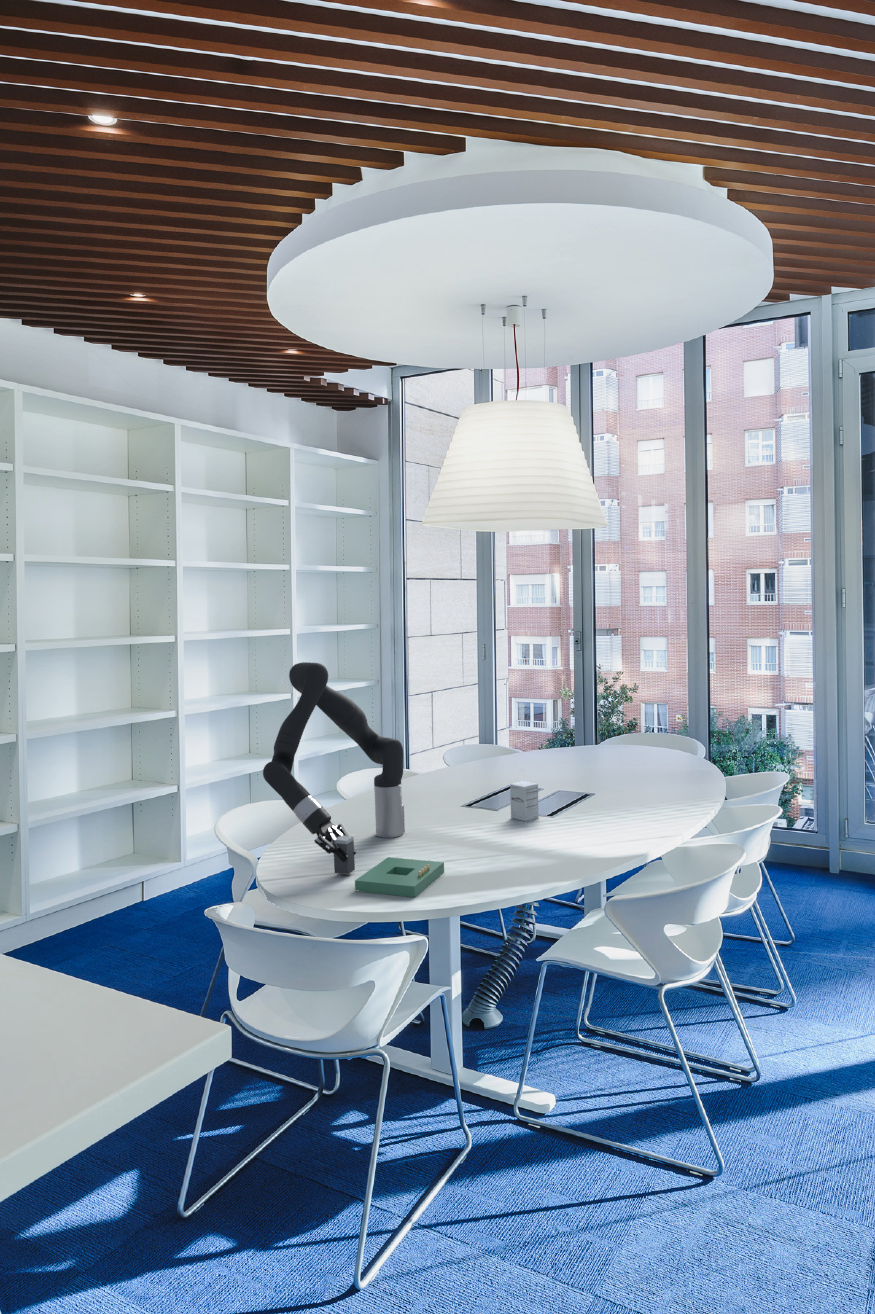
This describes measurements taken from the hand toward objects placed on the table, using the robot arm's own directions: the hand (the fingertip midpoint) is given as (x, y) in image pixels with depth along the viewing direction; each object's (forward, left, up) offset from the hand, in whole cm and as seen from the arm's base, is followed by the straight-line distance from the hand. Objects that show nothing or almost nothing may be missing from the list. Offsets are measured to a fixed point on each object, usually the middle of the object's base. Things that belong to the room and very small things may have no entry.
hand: (350, 857), depth 256 cm
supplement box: (-80, +11, -6) cm, 81 cm away
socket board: (-3, +16, -5) cm, 17 cm away
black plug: (+1, -2, -4) cm, 5 cm away
